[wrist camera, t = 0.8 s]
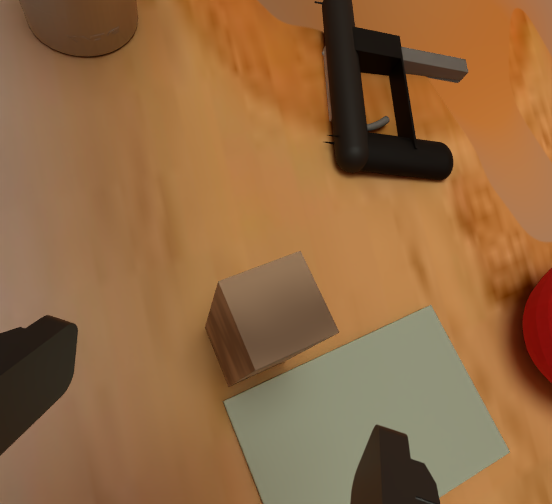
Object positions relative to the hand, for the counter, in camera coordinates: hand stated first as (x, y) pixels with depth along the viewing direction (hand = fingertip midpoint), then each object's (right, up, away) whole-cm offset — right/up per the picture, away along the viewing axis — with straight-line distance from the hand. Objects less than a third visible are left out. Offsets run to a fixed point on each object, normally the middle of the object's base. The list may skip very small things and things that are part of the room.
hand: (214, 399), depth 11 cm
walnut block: (-1, -3, +21) cm, 21 cm away
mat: (+8, -9, +21) cm, 24 cm away
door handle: (+13, +19, +33) cm, 40 cm away
